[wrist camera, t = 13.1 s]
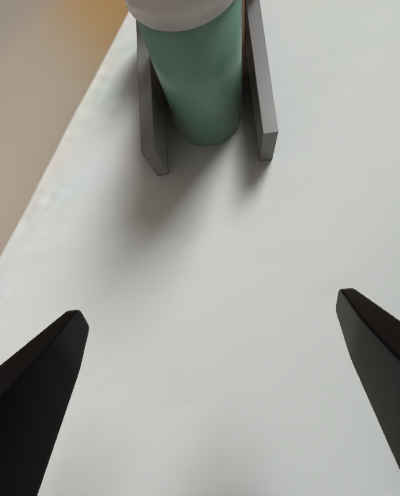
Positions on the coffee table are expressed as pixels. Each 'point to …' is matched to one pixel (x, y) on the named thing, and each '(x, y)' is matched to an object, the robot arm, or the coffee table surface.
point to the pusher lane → (260, 88)
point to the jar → (196, 62)
